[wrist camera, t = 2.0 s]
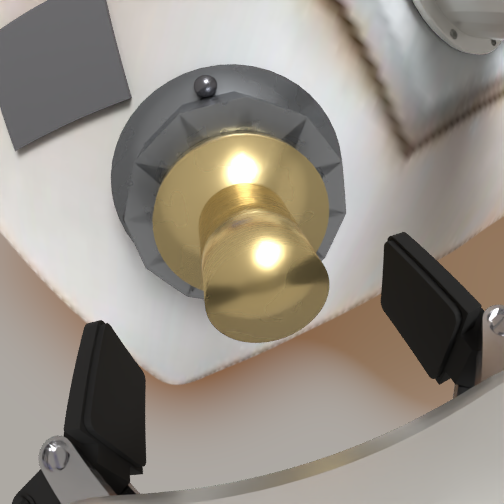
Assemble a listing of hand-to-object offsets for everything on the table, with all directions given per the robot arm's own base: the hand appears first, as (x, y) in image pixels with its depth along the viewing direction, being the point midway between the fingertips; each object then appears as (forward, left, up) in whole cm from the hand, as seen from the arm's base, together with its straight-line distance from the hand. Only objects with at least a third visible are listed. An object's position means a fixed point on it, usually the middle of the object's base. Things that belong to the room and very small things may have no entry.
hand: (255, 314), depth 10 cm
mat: (+8, -11, -13) cm, 19 cm away
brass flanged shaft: (-1, 0, -10) cm, 10 cm away
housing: (-1, 0, -13) cm, 13 cm away
